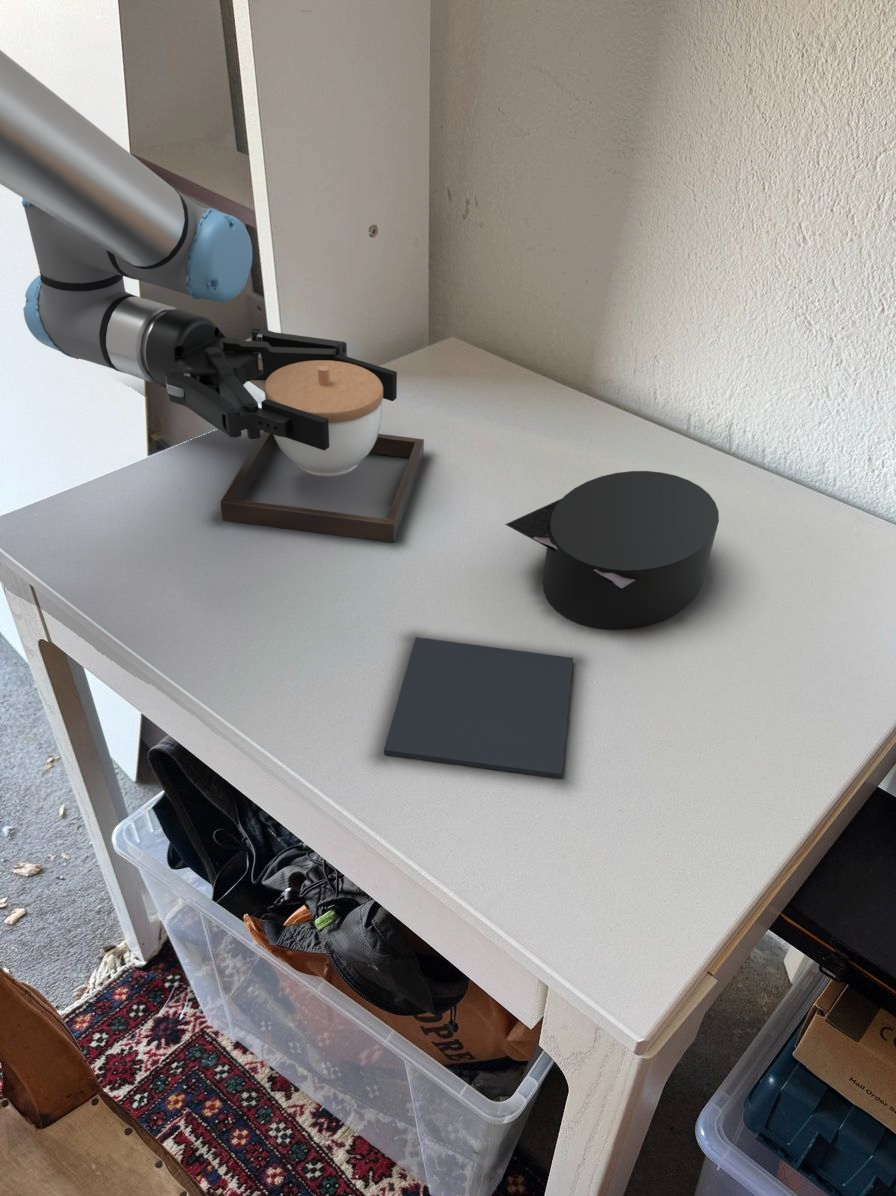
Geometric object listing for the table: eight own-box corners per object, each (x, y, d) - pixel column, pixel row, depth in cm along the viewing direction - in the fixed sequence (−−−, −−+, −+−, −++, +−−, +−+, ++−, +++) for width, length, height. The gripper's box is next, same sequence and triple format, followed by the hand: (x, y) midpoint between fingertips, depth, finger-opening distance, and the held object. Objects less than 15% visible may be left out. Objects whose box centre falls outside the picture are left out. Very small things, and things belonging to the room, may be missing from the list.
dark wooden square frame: (222, 520, 94) (220, 501, 92) (271, 436, 106) (270, 419, 104) (393, 542, 93) (393, 524, 92) (423, 456, 105) (424, 439, 104)
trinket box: (405, 459, 99) (407, 368, 92) (329, 502, 92) (326, 407, 86) (324, 422, 103) (320, 333, 97) (246, 461, 96) (236, 367, 90)
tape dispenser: (736, 579, 95) (756, 509, 90) (622, 653, 84) (638, 577, 79) (614, 518, 102) (627, 450, 97) (494, 579, 91) (502, 505, 86)
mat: (383, 754, 73) (383, 749, 73) (415, 641, 83) (415, 636, 83) (561, 778, 73) (562, 774, 73) (572, 662, 83) (573, 657, 82)
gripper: (246, 344, 109) (424, 399, 102) (89, 430, 93) (289, 502, 86) (240, 273, 104) (426, 327, 97) (72, 351, 88) (283, 422, 81)
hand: (362, 409), depth 92 cm, fingers closed on trinket box, 11 cm apart
